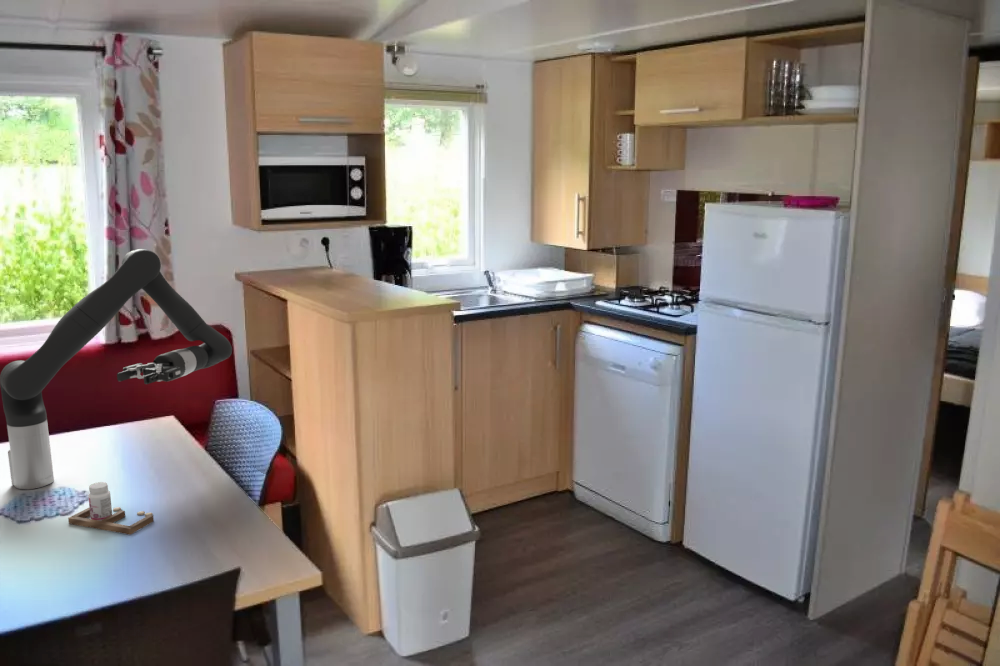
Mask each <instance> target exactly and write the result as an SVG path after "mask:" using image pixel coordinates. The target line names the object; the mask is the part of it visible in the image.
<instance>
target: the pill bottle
mask: <svg viewBox="0 0 1000 666" xmlns="http://www.w3.org/2000/svg"><path fill="white" fill-rule="evenodd" d="M88 486H89V487H88V488H89V489H88V491H89V493H88V505H89V506H88V508H89V507H90V516H89V517H90V519H93V520H99V521H101V520H103V519H105V518H107V517H109V516H111V515H113V509H112V508H113V507H112V506H113V505H112V498H111V492H110V491H109V488H108V487H109V485H108V483H107V482H104V481H100V482H95V483H92V484H90V485H88Z"/></svg>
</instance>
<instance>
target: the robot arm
mask: <svg viewBox="0 0 1000 666" xmlns="http://www.w3.org/2000/svg"><path fill="white" fill-rule="evenodd" d="M161 268H162V263H161V260H160V257H159V255H158V254H156V252H154V251H152V250H150V249H146V248H138V249H134V250H131V251H129V252H127V253H126V254H125V255H124V257H123V258H122V261H121V265H120V266H119V268H118V269H117V270H116V271H115V272H114V273H113V274H112V275H111V277H110V278H109V279H107V280H106V281H105V282H103V284H101V285H100V286H98V287H97V288H95V289H94V290H92V291H91V292H90V293H88V294H87V295H85V296H84V297H83V298H81V299H80V300H79V301H78V302H76V303H75V304H74V305H73V306H72V307H71V308H70V309H69V310H68V311H67V312H65V314H64V315H63V316H62V317H61V318H60V319H59V321H58V322H57V323H56V324H55V326H54V328H53V329H52V331H51V332H50V334H49V335H48V337H47V338H46V339H45V342H43V344H42V345H41V346H40V347H39V349H37V351H35V352H34V353H33V354H32V355H31V356H29V357H28V358H27V359H26V360H14V361H11V362H9V363H8V364H6V365H5V366H4V367H3V369H2V370H1V372H0V393H1V401H2V406H3V413H4V415H5V421H6V429H7V436H8V443H9V450H8V451H7V458H8V465H9V472H10V473H9V474H10V479H11V480H10V481H11V485H12V486H14V487H15V488H16V489H19V490H32V489H38V488H42V487H45V486H48V485H50V484H52V483H53V482H54V481H55V477H54V469H53V460H52V452H51V443H50V434H49V426H48V425H49V424H48V417H47V416H48V414H47V410H46V407H45V403H44V399H43V390H44V389H45V388H46V387H47V386H48V384H49V383H50V382H51V380H52V379H53V378H54V377H55V376H56V374H57V373H58V372H59V371H60V370H61V368H62V367H64V365H65V364H67V362H69V361H70V360H71V359H72V358H73V357H74V356H76V354H77V353H79V352H80V351H81V350H82V349H83V348H84V347H85V346H86V345H87V344H88V343H89V342H91V340H93V339H94V338H95V337H96V336H97V335H98V334H99V333H100V332H101V331H102V330H103V329H104V328H105V327H106V326H107V325H108V323H109V322H111V321H112V320H113V318H114V317H115V316H116V315H117V314H118V313H119V311H120V310H121V309H122V308H123V306H124V305H125V304H126V303H127V302H128V301H130V299H131V298H132V297H133V296H134V295H136V294H137V293H138V292H140V291H141V290H143V292H144V293H146V294H147V295H148V296H149V297H150V298H151V299H152V300H153V301H154V302H155V304H156V305H157V306H158V307H159V308H160V309H161V310H162V312H163V313H164V314H165V315H166V316H167V318H168V319H169V320H170V322H171V323H172V324H173V325H174V327H176V328H177V330H178V331H179V332H180V333H181V334H182V335H183V337H184V338H185V339H186V340H187V341H189V342H195V341H200V342H202V344H200V345H190V346H188V347H184V348H179V349H175V350H172V351H168V352H165V353H161V354H159V355H157V356H156V357H155V358H154V359H153V362H147V364H143V363H142V362H139V363H135V364H132V365H128V366H125V367H123V368H122V370H123V371H120V372H117V373H116V380H117V381H118V382H124V381H127V380H129V379H134V378H137V379H139V380H141V379H142V380H143V383H144V385H149V384H152V383H155V382H166V383H167V382H170V381H171V382H172V381H174V380H177V379H180V378H182V377H185V376H187V375H189V374H192V373H194V372H196V371H199V370H204V369H207V368H210V367H213V366H215V365H218V364H219V363H221V362H223V361H225V360H227V359H229V358H230V357H231V356H232V353H233V347H232V345H231V342H230V341H229V340H228V338H227V337H226V336H225V335H223V334H222V333H220V332H219V331H217V330H216V329H215V328H214V327H212V326H211V325H209V324H208V323H206V322H205V320H204V319H203V318H202V316H201V315H199V313H198V312H197V311H196V310H195V309H194V307H193V306H192V305H191V304H190V302H188V301H187V300H185V298H184V297H182V295H181V294H179V293H178V292H177V291H176V290H175V289H174V287H172V285H170V283H169V282H168V281H167V280H166V278H165V277H164V275H163V274H162V272H161ZM141 373H142V375H141Z"/></svg>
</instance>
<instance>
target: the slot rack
mask: <svg viewBox="0 0 1000 666" xmlns="http://www.w3.org/2000/svg"><path fill="white" fill-rule="evenodd" d="M112 512H115V513H112V515H111V516H109V517H107V518H105V519H103V520H101V521H99V520H93V519H91V518H88V517H90V507H89V506H88V507H87V508H85V509H84V510H80V511H78V512H77V513H75V514H73V515H70V516H69V517H68V518H67V519H68V524H69V525H74V526H80V527H85V528H92V529H96V530H100V531H101V530H102V531H107V532H113V533H117V534H119V533H120V534H123V535H124V534H125V535H129V536H130V535H133V534H134V533H137V532H138V531H140V530H142V529H143V528H145V527H146V526H149V525H150V524H152V523H153V522H154V521H155V519H154V513H153V512H146V511H144V510H143V511H142V510H141V511H138V512H136V515H137V516H143V515H144V517H143V518H141V519H139V520H138V521H136V522H134V523H132V524H130V525H126V524H119V523H116V522H117V521H120V520H122V519H123V518H126V511H125V510H122V508H121V506H116V507H113V509H112Z"/></svg>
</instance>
